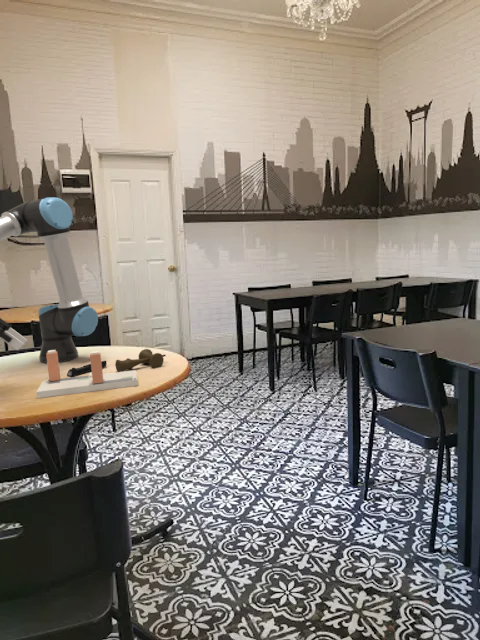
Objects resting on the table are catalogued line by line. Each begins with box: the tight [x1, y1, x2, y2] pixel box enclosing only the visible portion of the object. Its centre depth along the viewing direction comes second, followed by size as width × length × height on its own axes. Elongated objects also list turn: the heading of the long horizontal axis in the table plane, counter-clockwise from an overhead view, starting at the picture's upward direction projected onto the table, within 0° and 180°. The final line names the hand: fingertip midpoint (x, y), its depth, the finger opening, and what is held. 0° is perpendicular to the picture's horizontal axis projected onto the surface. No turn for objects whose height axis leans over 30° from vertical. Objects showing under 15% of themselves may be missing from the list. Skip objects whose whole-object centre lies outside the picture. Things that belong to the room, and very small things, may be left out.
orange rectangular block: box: [89, 350, 104, 384], centre depth 146 cm, size 3×3×10 cm
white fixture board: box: [36, 369, 139, 399], centre depth 151 cm, size 14×30×3 cm, turn 105°
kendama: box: [114, 348, 167, 372], centre depth 172 cm, size 6×10×20 cm
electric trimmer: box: [66, 360, 107, 378], centre depth 171 cm, size 4×16×3 cm, turn 140°
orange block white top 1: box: [46, 350, 61, 381], centre depth 152 cm, size 3×3×10 cm
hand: (22, 344), depth 149 cm, fingers open, 6 cm apart
